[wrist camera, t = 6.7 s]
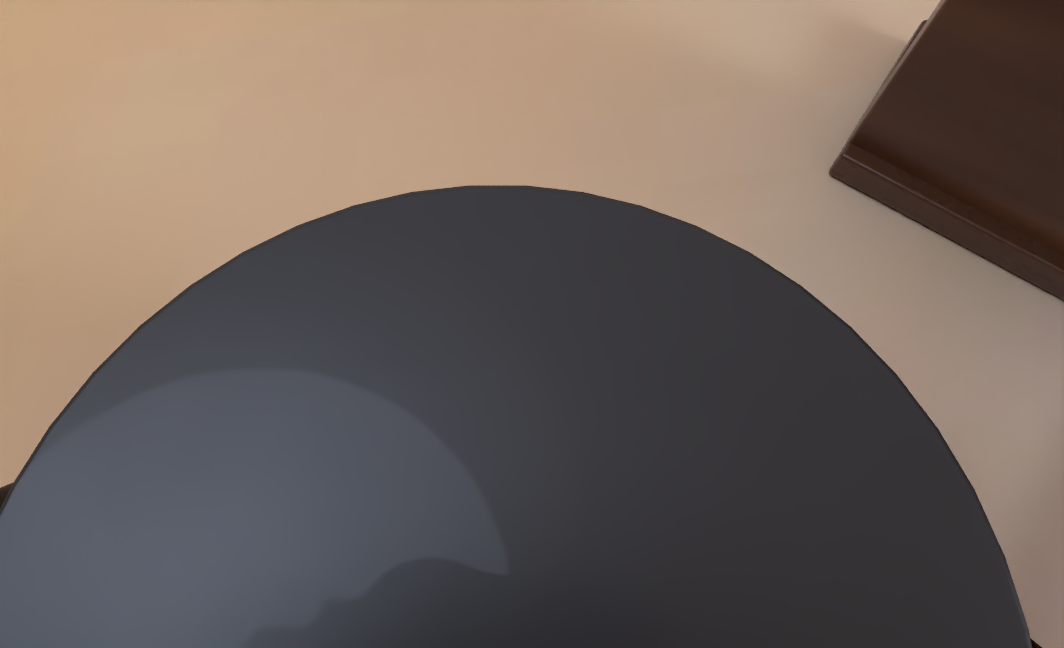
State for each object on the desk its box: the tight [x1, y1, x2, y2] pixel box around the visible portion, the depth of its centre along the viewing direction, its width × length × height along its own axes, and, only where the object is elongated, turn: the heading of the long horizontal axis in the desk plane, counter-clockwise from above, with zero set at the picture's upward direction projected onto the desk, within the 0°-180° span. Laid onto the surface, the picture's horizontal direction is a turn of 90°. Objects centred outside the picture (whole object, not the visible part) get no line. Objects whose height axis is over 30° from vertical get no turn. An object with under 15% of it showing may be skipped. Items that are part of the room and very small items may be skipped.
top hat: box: [0, 186, 1032, 648], centre depth 9 cm, size 10×10×10 cm
